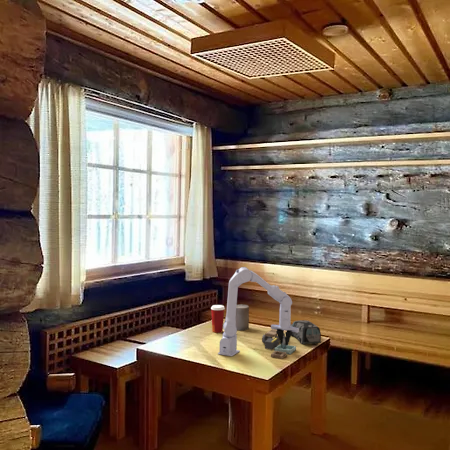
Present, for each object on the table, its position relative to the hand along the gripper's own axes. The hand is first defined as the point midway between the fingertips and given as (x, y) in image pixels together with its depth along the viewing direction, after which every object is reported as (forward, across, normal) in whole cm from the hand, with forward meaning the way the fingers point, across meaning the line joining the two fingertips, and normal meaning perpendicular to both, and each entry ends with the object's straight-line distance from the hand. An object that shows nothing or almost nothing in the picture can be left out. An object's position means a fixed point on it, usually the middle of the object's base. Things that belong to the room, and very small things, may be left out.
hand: (284, 344), depth 254 cm
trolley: (+4, +12, -14) cm, 19 cm away
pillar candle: (+4, +39, -30) cm, 49 cm away
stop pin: (+2, 0, 0) cm, 2 cm away
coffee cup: (+4, +48, -17) cm, 51 cm away
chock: (+4, +9, -4) cm, 11 cm away
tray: (+4, 0, -2) cm, 4 cm away
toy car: (+4, -2, -27) cm, 27 cm away
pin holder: (+4, 0, +8) cm, 9 cm away
